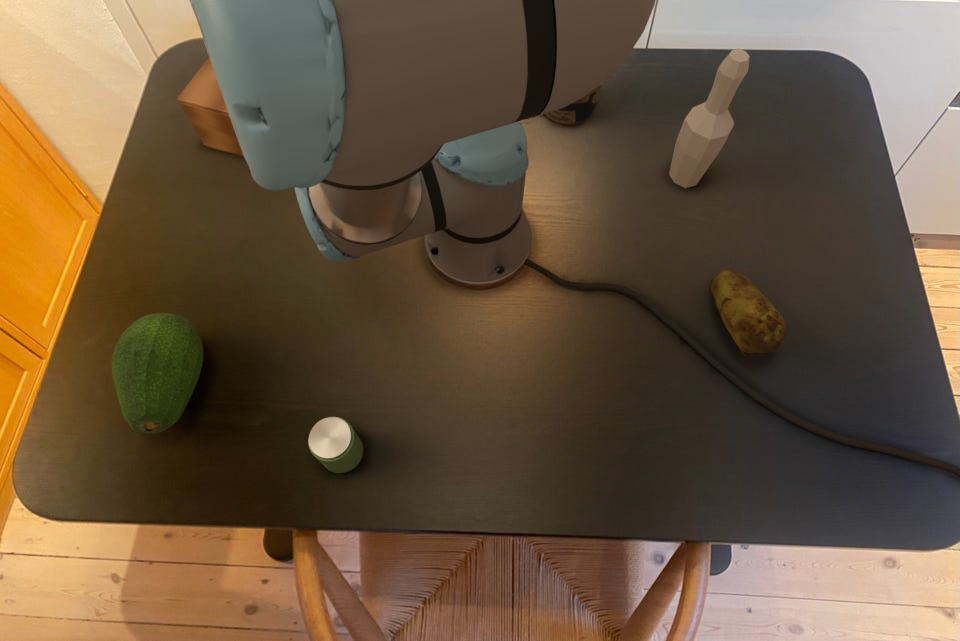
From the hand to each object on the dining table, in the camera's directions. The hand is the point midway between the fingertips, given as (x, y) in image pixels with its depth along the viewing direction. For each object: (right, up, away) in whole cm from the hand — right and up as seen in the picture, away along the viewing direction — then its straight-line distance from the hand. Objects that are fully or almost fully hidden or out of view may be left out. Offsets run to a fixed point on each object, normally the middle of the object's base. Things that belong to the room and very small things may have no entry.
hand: (338, 139), depth 93 cm
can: (+5, -44, -20) cm, 49 cm away
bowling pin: (+53, -6, -1) cm, 54 cm away
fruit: (-17, -36, -16) cm, 43 cm away
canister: (+36, +7, +6) cm, 37 cm away
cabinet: (-13, +3, +4) cm, 14 cm away
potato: (+56, -29, -12) cm, 64 cm away
